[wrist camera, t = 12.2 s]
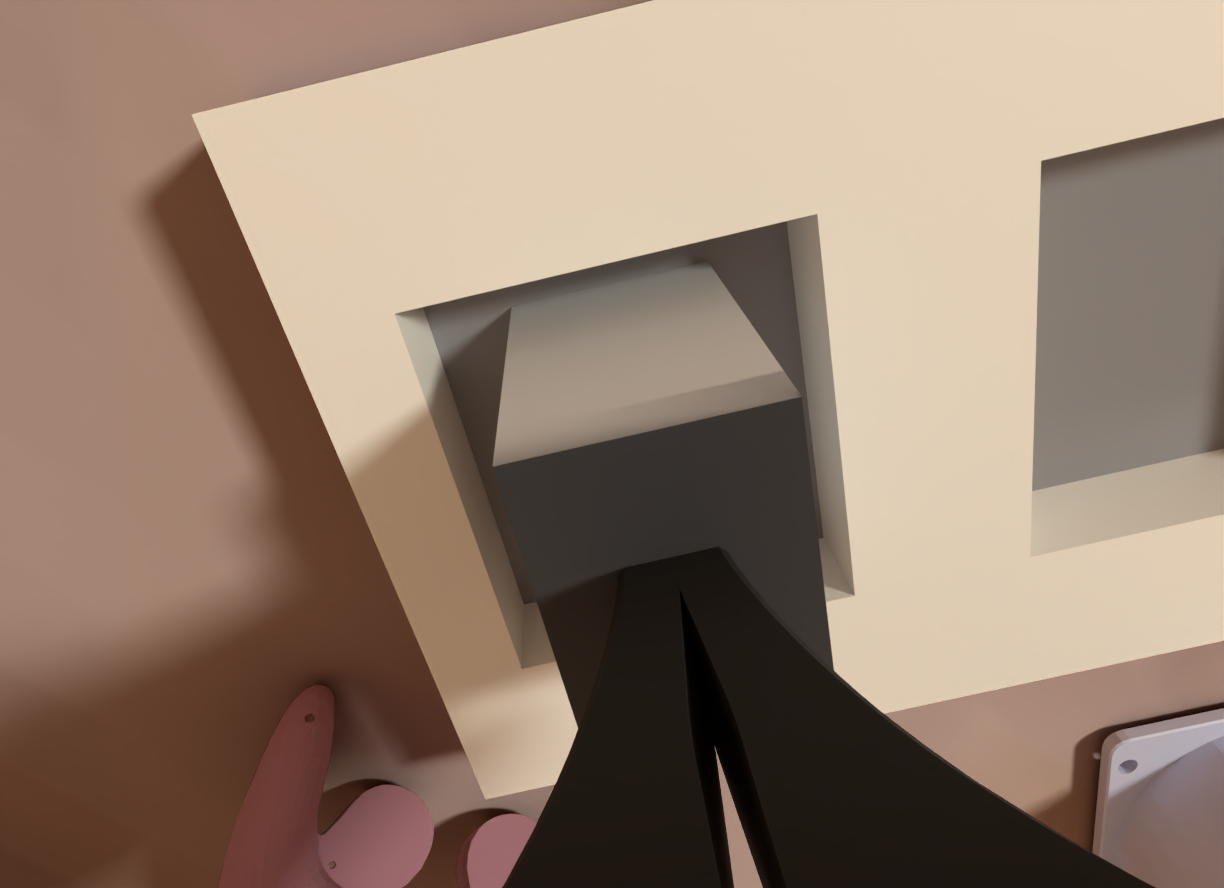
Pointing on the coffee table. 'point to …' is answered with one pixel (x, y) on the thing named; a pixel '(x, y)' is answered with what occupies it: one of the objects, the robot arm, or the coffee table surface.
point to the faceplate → (789, 311)
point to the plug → (651, 456)
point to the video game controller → (345, 822)
